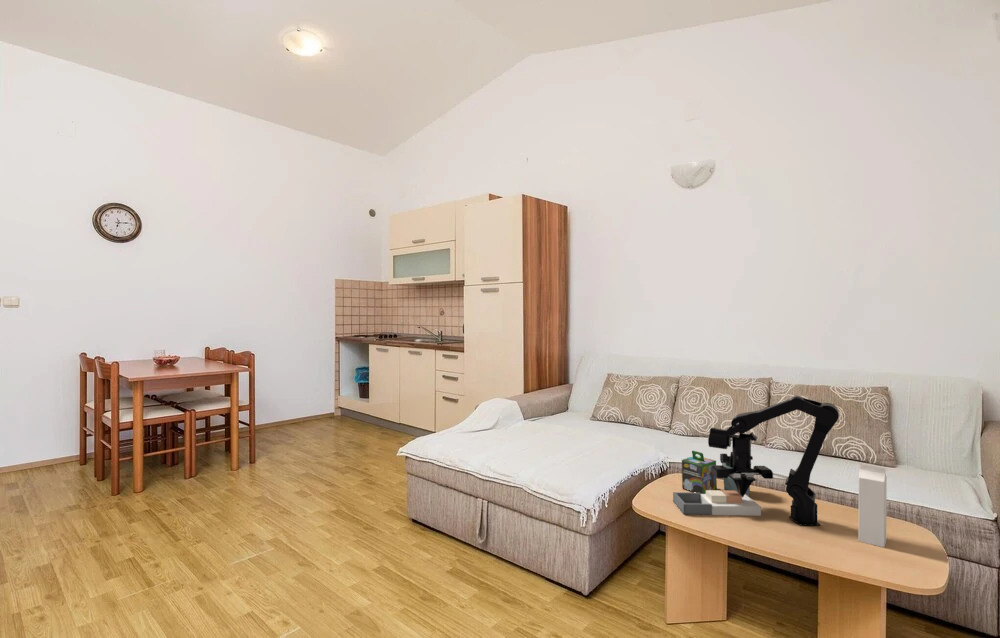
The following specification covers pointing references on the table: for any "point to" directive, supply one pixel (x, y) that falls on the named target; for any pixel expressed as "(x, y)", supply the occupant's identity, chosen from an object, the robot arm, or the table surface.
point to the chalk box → (698, 474)
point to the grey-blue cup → (731, 482)
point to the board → (734, 507)
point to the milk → (872, 505)
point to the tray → (691, 503)
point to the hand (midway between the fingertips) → (741, 496)
